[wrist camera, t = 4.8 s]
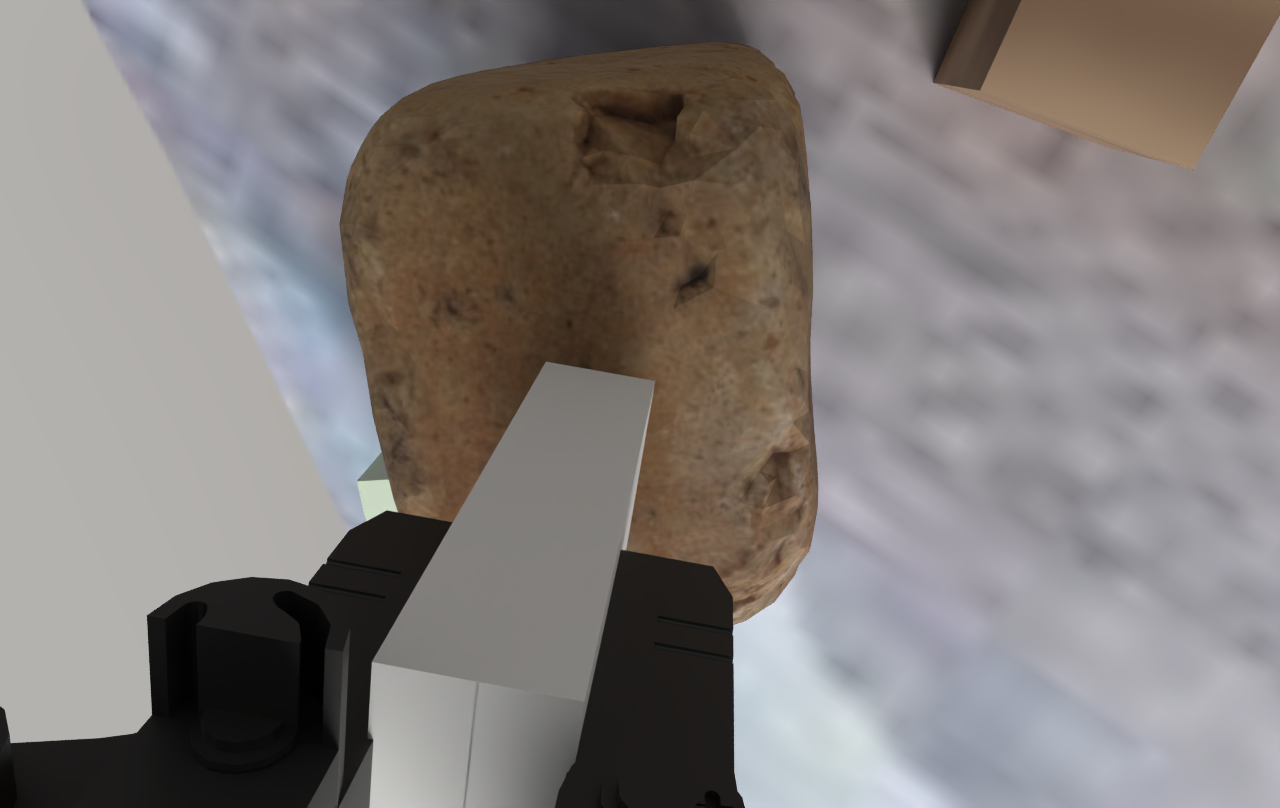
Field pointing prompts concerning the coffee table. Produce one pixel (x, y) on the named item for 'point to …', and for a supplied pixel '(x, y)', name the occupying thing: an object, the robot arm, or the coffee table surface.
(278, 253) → the coffee table surface
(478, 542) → the robot arm
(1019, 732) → the coffee table surface
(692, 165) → the pitted sandstone rock
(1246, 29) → the walnut block
